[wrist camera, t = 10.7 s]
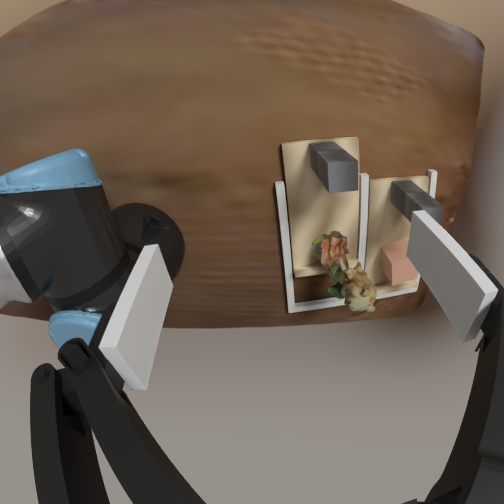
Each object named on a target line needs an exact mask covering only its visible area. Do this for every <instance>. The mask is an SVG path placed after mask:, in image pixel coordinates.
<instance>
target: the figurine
mask: <svg viewBox="0 0 504 504" xmlns="http://www.w3.org/2000/svg"><path fill="white" fill-rule="evenodd" d="M312 243H313V245H312V247H311V251H312V253H313V254H314V255H315V256H316V257H317V258H318V259H319V260H321V264H322V265H324V267H325V268H326V270H327V272H328V275H330V277H331V278H332V279H334V280H336V281H337V282H338V283H337V284H336V285H334V286H331V287H329V288H327V291H328V293H329V294H330V295H333V296H334V297H336V298H339V299H343V298H345V302H344V304H346V305H347V307H348V308H349V309H350V310H351V311H352V312H354V311H363V310H366V311H367V312H373V311H374V310H375V309H376V308H375V307H373V303H374V301H375V299H376V295H377V292H376V288H375V286H374V284H373V283H372V281H371V280H370V279H369V278H368V277H367V273H366V272H364V271H363V270H362V265H361V263H360V262H358V263H357V265H356V266H355V267H354V268H349V264H348V260H347V258H346V254H349V250H348V248H347V237H346V236H343V235H342V234H341V233H340V232H339V231H331V232H327V233H325V234H323V235H321V237H319V238H318V239H315V240H314V241H313V242H312Z"/></svg>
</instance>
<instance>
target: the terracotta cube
mask: <svg viewBox="0 0 504 504" xmlns="http://www.w3.org/2000/svg"><path fill="white" fill-rule="evenodd" d="M407 247H408V241H407V240H406V239H403V240H400V241H396V242H393V243H390V244H387V245H383V246H381V258H382V269H383V271H384V273H385V274H386V276H387V278H388V280H389V281H390V283H391V285H392V286H394V285H397V284H400V283H403V282H406V281H409V280H412V279H415V278H417V276H418V271H417V270H416V268H415V267H414V265H413V264H412V263H411V261H410V260H409V258H408V257H407V256H406V253H407Z"/></svg>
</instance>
